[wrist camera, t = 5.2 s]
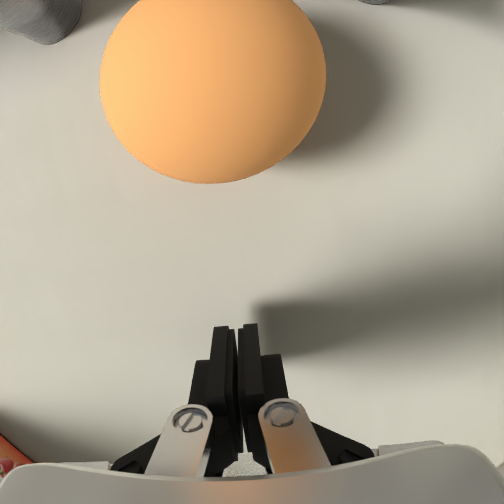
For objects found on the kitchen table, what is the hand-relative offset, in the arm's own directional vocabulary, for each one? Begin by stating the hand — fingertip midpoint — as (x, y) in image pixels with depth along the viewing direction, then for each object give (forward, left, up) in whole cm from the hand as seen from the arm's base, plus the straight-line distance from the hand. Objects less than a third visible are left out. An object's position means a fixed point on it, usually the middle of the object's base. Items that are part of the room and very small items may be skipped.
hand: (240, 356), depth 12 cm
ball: (0, +10, +2) cm, 10 cm away
